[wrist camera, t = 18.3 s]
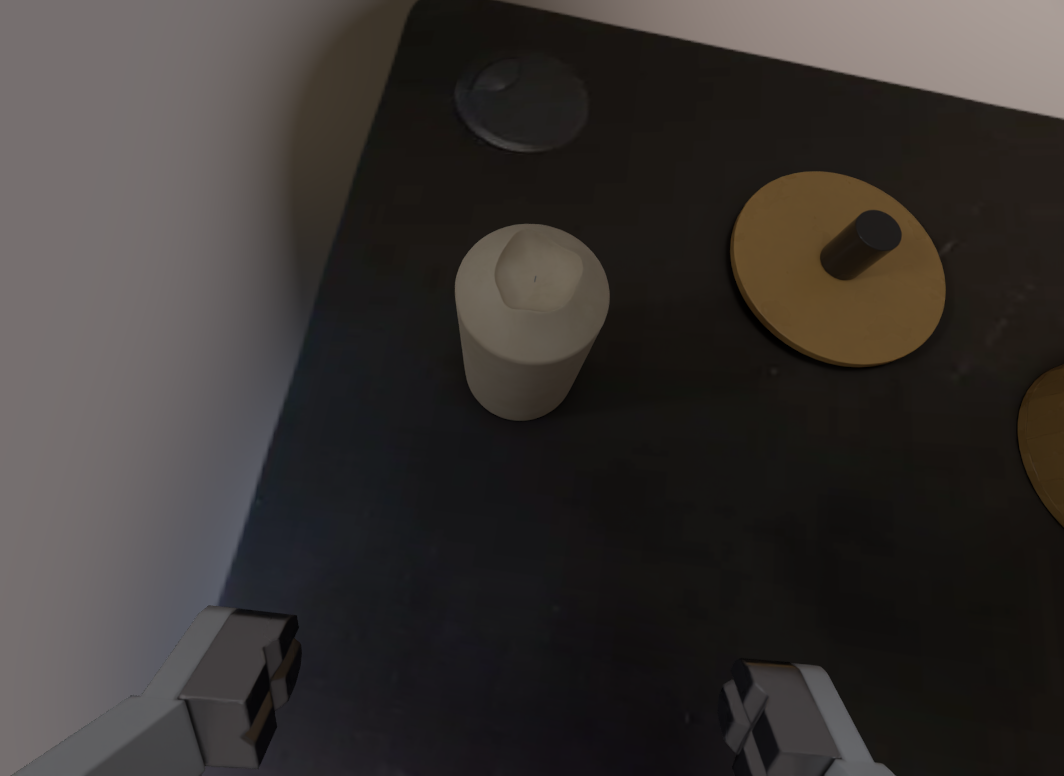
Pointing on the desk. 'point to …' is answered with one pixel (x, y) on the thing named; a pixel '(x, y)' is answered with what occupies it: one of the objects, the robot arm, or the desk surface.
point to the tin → (1045, 439)
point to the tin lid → (837, 269)
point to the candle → (528, 317)
